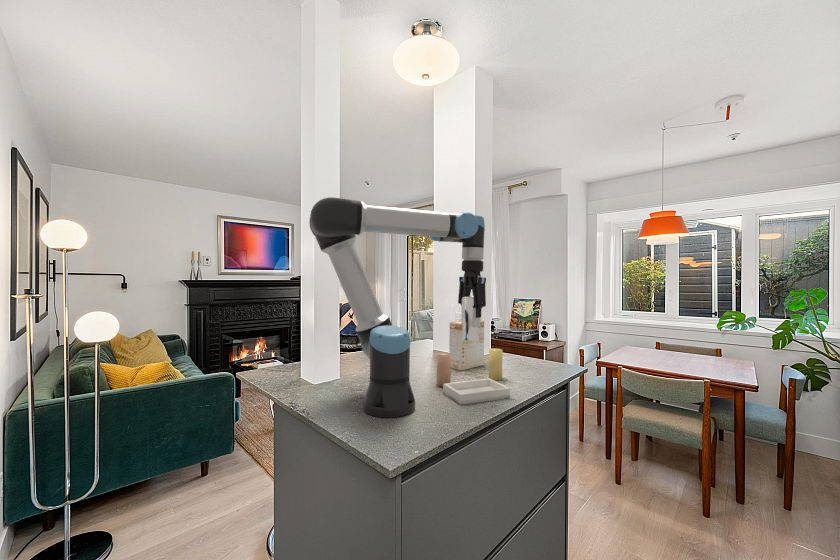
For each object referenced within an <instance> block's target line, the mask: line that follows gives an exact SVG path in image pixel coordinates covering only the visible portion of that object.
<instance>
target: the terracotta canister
mask: <svg viewBox="0 0 840 560" xmlns="http://www.w3.org/2000/svg"><path fill="white" fill-rule="evenodd" d="M451 369H452V368H451V354H450V353H449V352H437V353H436V376H435V377H436V381H435V382H436V386H438V387H441V388H443V384H446V383H451V376H452V374H451V371H452V370H451Z"/></svg>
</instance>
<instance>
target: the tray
mask: <svg viewBox="0 0 840 560" xmlns="http://www.w3.org/2000/svg"><path fill="white" fill-rule="evenodd" d="M442 393H443V394H444V395H446V396H448V397H449V398H451V399H452V400H453V401H454V402H456V403H458V404H459V405H468V404H474V403H475V404H476V403H481V402H482V403H483V402H488V401H494V400H495V401H496V400H502V399H507V398H508V399H509V398H511V388H510V387H508V386H506V385H504V384H502V383H500V382H498V381H497V380H492V379H490V378H489V377H488V378H482V379H471V380H466V381H465V380H464V381H457V382H454V381H453V382H450V383H446V384H443V387H442Z"/></svg>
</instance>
